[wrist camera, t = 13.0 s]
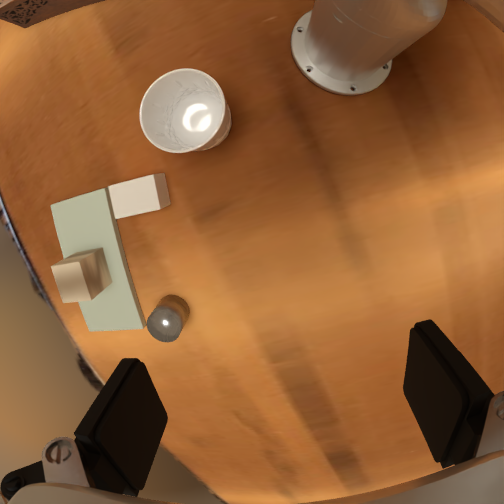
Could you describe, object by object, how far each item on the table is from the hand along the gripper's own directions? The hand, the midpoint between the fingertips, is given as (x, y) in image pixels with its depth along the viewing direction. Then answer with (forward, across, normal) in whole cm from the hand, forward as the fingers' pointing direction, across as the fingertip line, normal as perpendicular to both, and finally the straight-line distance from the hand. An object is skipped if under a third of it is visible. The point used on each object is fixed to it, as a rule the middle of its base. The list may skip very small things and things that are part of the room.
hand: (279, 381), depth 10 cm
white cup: (+28, +6, -13) cm, 32 cm away
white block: (+28, +15, -6) cm, 33 cm away
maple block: (+27, +25, +2) cm, 37 cm away
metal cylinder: (+28, +15, +10) cm, 34 cm away
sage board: (+28, +25, +2) cm, 38 cm away
